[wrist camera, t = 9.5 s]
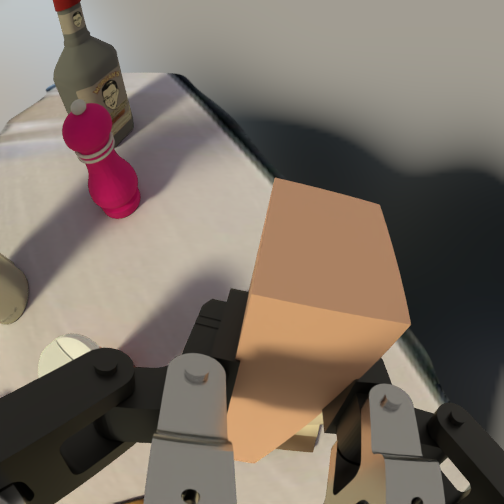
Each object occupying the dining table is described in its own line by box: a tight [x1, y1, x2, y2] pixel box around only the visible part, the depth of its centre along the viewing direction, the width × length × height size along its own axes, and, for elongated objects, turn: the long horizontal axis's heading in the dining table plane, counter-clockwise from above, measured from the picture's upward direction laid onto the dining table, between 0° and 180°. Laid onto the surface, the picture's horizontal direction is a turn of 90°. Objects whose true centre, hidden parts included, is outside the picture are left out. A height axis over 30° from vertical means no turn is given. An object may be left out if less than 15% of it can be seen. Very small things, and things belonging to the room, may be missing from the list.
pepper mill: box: [62, 99, 141, 219], centre depth 34 cm, size 7×7×20 cm
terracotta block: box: [227, 178, 411, 463], centre depth 13 cm, size 4×3×18 cm
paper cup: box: [38, 334, 135, 378], centre depth 27 cm, size 8×8×14 cm
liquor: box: [53, 0, 133, 148], centre depth 35 cm, size 9×9×30 cm
